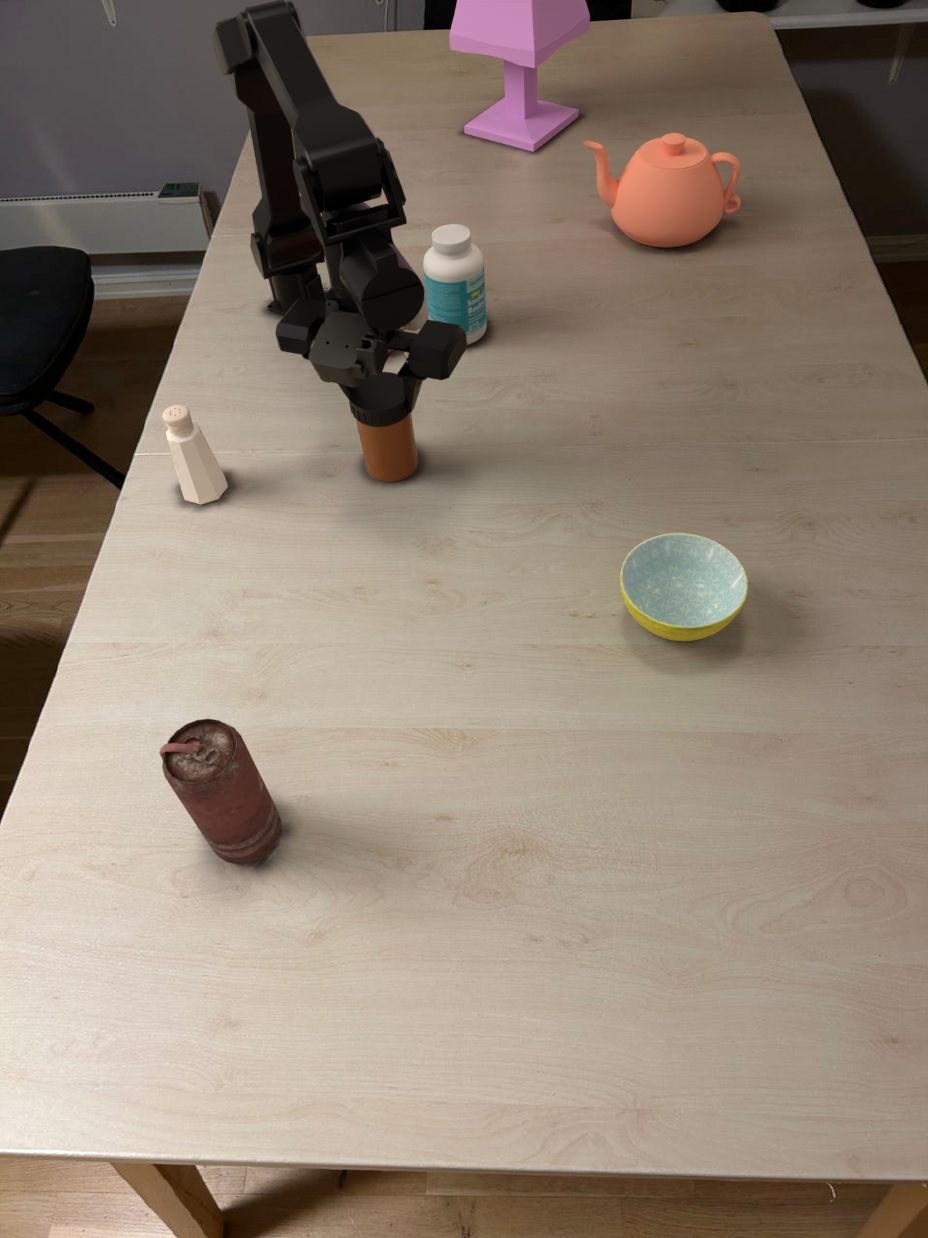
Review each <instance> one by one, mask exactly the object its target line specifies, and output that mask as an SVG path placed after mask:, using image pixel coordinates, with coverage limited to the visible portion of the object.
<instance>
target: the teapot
mask: <svg viewBox="0 0 928 1238" xmlns="http://www.w3.org/2000/svg"><path fill="white" fill-rule="evenodd" d="M582 143H583V144H584V145H585V146H586V147H588V149H589V150H591V152H592V153H593V155H594V157H595V162H596V187H597V192H598V195H599V197H600V199H601V200H602V202H603V203H604V204H605V205H606V206H608V207H609V208H610V213H611V217H612V219H613V221H614V223H615V224H616V226H617V227H618V228H619V229H620V230H621V232H622V233H623V234H624V235H625V236H626V237H628V238H629V239H630V240H631V241H634V242H636V243H639V244H640V245H641V244H642V245H646V246H649V247H655V248H675V247H677V248H678V247H682V246H687V245H690V244H693V243H696V242H698V241H700V240H701V239H703V238H704V237H705V236H707V235H708V234H709V233H710V232H712V231H713V230H714V229H715V228H716V226H717V225H719V223H720V221H721V220H722V217H723V214H725V215H732V214H735V213H737V212H738V211H739V209H740V208H741V204H742V200H741V197H740V196H739V195H738V194H736V193H735V194H733V192H734V190H735V188H736V187H737V184H738V182H739V179H740V175H741V163H740V160H739V159H738V158H737V156H735V155H734V154H733V153H730V152H727V151H720V152H716V153H713V154H712V155H711V153H710V152H709V150H708V148H707V147H706V146H705V144H703V143H702V142H700V141H698V140H696V139H694V138H691V137H687V136H686V135H685V134H683V133H679V132H670V133H666V134H664V135H663V136H662V137H655V138H654V139H651V140H648V141H646V142H644V143H643V144H642V145H641V146H640V147H639V148H638V149H637V150H636V151H635V152H634V154H633V156H632V157H631V158H630V159H629V161H628V163H627V164H626V165H625V166H624V168H623V170H622V171H621V173H620V175H619V177H618V180H617V179H615V178H614V177H613V176H612V175H611V173H610V158H609V153H608V151H607V149H606V148H605V146H604V145H602V144H600V143H598V142H596V141H591V140H583V141H582ZM717 163H727V164H729V165H731V167H732V173H731V177H730V179H729V182H728V184H727V186H726V188H725V190H724V185H723V181H722V177H721V175H720V172H719V169H718V167H717V165H716V164H717ZM729 202H734V203H733V204H729Z"/></svg>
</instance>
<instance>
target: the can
mask: <svg viewBox="0 0 928 1238" xmlns="http://www.w3.org/2000/svg"><path fill="white" fill-rule="evenodd" d="M158 752H159V755H160V756H159V757H160V758H161V759H162V764H161V769H162V772H163V775H164V778H165V780H166V782H167V783H168V784H169V786H170V787H171V789H172V790H173V792H174V794H175V795H176V797H177V798H178V800H179V801H180V803H181V804H182V806H183V807H184V809H185V810H186V812H187V814H188V815H189V816H190V818H191V819H192V821H193V823H194V825H196V827H197V829H198V830H199V832H200V833H201V835H202V836H203V838H204V839H205V841H206V842H207V844H208V845H209V847H210V848H211V850H212V851H213V852H214V854H215V855H216V857H218V858H219V859H221V860H223V861H225V862H226V863H229V864H235V865H243V864H250V863H252V862H255V861H257V860H260V859H261V858H263V857H264V856H265V855H267V854H268V853H269V852H271V851H272V849H273V848H274V846H275V845H276V843H277V842H278V841H279V838H280V834H281V831H282V818H281V815H280V812H279V810H278V808H277V806H276V804H275V802H274V800H273V798H272V795H271V794H270V792H269V790H268V787H267V786H266V784H265V782H264V780H263V777H262V775H261V773H260V771H259V769H258V767H257V765H256V763H255V761H254V759H253V756H252V755H251V753H250V750H249V749H248V747H247V745H246V742H245V740H244V738H243V737H242V735H241V733H239V731H237V729H236V728H235V727H234V726H232V725H231V724H228V723H226V722H223V721H221V720H220V719H213V718H201V719H195V720H193V721H191V722H188V723H185V724H184V725H183V726H181V727H180V728H178V729H177V730H176V731H175V732H174V733H173V734H172V735H171V737H170V738H169V739H168V740H167V743H165V744H163V745H162V746H161V747H160V749H159V751H158Z"/></svg>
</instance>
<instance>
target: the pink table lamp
mask: <svg viewBox="0 0 928 1238" xmlns="http://www.w3.org/2000/svg"><path fill="white" fill-rule="evenodd" d="M452 19H453V20H452V22H451V27H450V31H449V35H448V36H449V49H450V50H452V51H456V52H461V53H464V54H475V55H484V56H485V55H486V56H490V57H494V58H499V59H502V60H503V77H504V78H503V80H504V83H503V84H504V97H503V98H501V99H500V100H499V101H497V102H495V103H494V104H492V105H491V106H490V107H488V108H487V109H486V110H484V111H483V112H481V113H480V114H479V115H478V116H476V117H474V118H473V119H472V120H471V121H469V122H468V123H467V124H465V125H464V126H463V128H464V129H463V131H464V133H463V134H466V135H470V136H473V137H477V138H481V139H484V140H487V141H491V142H496V143H498V144H503V145H507V146H511V147H514V148H517V149H521V150H525V151H530V152H532V153H533V152H535V151H537V150H538V149H539V148H541V147H542V146H543V145H544V144H546V143H547V142H548V141H549V140H551V139H552V138H553V137H555V136H556V135H557V134H559V133H560V132H561V131H562V130H563V129H565V128H566V127H568V126H569V125H570V124H571V123H572V122H574V121H575V120H577V118H579V108H574V107H570V106H566V105H562V104H557V103H554V102H550V101H545V100H541V99H538V67H539V66H540V65H542V64H543V63H545V62H546V61H547V60H548V59H549V58H551V56H552V55H554V54H555V53H556V52H557V51H558V50H559V49H560V48H562V47H564V46H565V45H566V44H568V43H569V42H572V41H574V40H576V39H578V38H580V37H581V36H583V35H585V34H586V33H587V32H589V31H590V28H591V27H590V26H591V24H590V22H591V14H590V11H589V8H588V5H587V1H586V0H456V5H455V9H454V15H453V18H452Z"/></svg>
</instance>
